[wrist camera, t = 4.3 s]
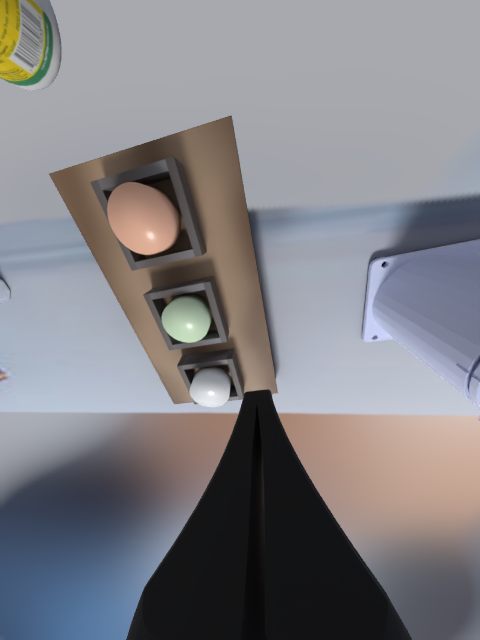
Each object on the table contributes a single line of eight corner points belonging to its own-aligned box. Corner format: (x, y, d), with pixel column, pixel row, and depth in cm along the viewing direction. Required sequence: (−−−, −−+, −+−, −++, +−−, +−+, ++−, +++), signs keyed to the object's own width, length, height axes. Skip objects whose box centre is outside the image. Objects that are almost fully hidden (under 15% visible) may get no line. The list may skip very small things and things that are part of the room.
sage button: (205, 289, 15) (200, 297, 13) (217, 328, 16) (214, 339, 15) (162, 297, 15) (153, 305, 14) (178, 335, 17) (172, 345, 15)
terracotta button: (168, 179, 11) (156, 173, 10) (188, 244, 13) (180, 247, 11) (113, 195, 11) (94, 191, 10) (139, 255, 13) (126, 260, 12)
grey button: (226, 363, 17) (223, 376, 16) (234, 391, 19) (233, 405, 17) (189, 368, 18) (183, 381, 16) (200, 395, 19) (196, 408, 18)
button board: (234, 130, 12) (228, 99, 9) (275, 379, 22) (279, 405, 19) (74, 180, 14) (23, 168, 11) (179, 390, 24) (169, 416, 21)
